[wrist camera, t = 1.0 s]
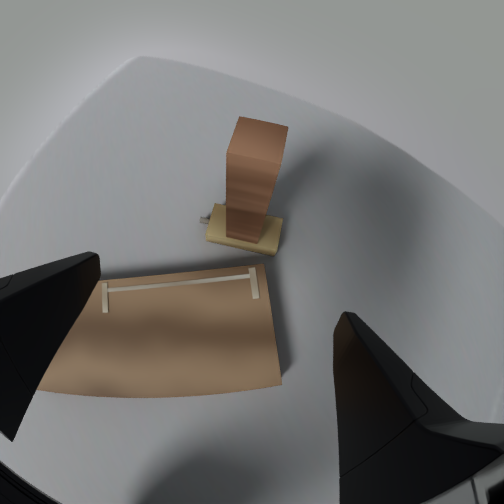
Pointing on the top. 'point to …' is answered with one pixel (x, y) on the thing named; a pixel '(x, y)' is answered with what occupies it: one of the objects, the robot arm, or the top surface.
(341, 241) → the top surface
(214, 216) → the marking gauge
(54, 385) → the tan wooden flat board
